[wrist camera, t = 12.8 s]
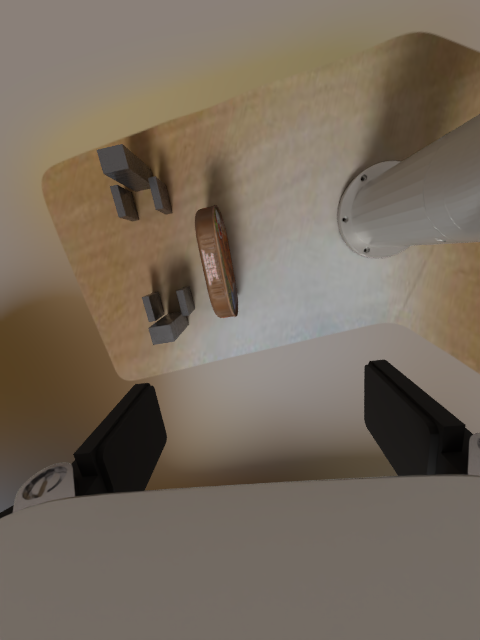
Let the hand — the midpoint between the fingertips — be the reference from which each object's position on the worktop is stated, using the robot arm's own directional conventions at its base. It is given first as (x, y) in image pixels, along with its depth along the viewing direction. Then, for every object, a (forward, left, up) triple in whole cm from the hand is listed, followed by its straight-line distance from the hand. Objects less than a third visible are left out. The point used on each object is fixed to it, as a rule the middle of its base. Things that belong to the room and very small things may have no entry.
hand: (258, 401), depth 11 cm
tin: (+4, -5, -29) cm, 30 cm away
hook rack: (+13, -8, -29) cm, 33 cm away
